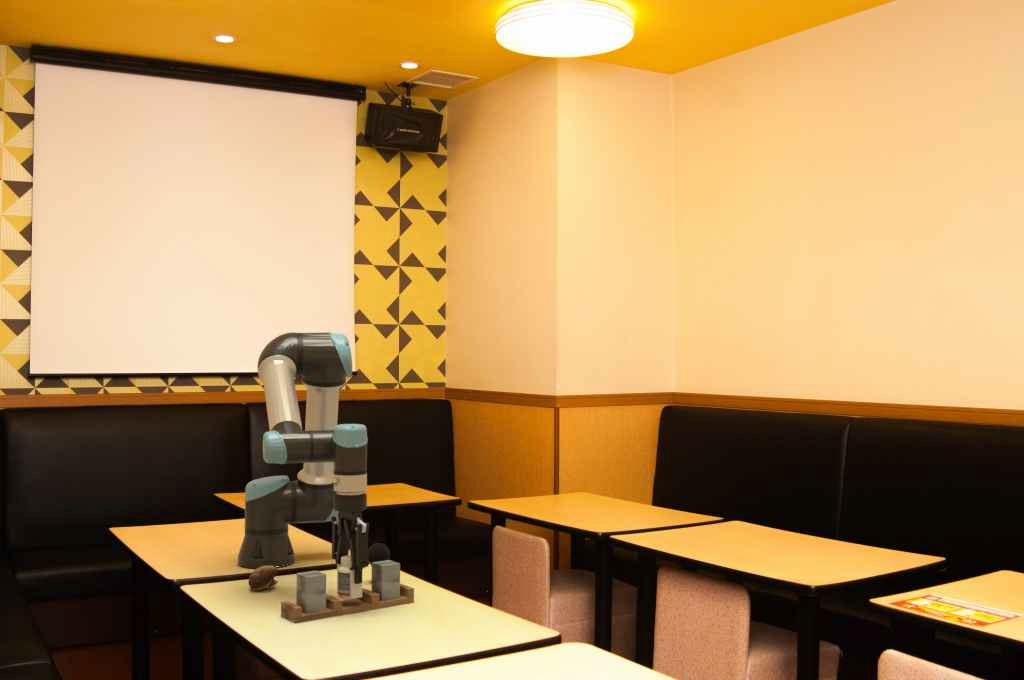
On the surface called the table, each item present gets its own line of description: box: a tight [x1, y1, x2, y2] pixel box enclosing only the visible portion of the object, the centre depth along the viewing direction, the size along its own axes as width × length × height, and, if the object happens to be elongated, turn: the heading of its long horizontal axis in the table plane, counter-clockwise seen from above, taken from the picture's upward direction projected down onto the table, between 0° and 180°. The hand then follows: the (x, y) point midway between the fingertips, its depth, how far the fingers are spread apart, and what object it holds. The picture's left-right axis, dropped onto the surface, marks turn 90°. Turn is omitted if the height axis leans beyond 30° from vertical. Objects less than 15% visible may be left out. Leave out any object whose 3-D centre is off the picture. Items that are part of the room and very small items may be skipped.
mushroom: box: [248, 565, 279, 592], centre depth 246 cm, size 8×8×6 cm
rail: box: [280, 559, 415, 624], centre depth 228 cm, size 7×30×9 cm, turn 128°
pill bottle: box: [337, 554, 352, 600], centre depth 228 cm, size 5×5×9 cm
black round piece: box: [368, 542, 391, 568], centre depth 253 cm, size 6×6×10 cm
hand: (349, 594), depth 228 cm, fingers closed on pill bottle, 5 cm apart
